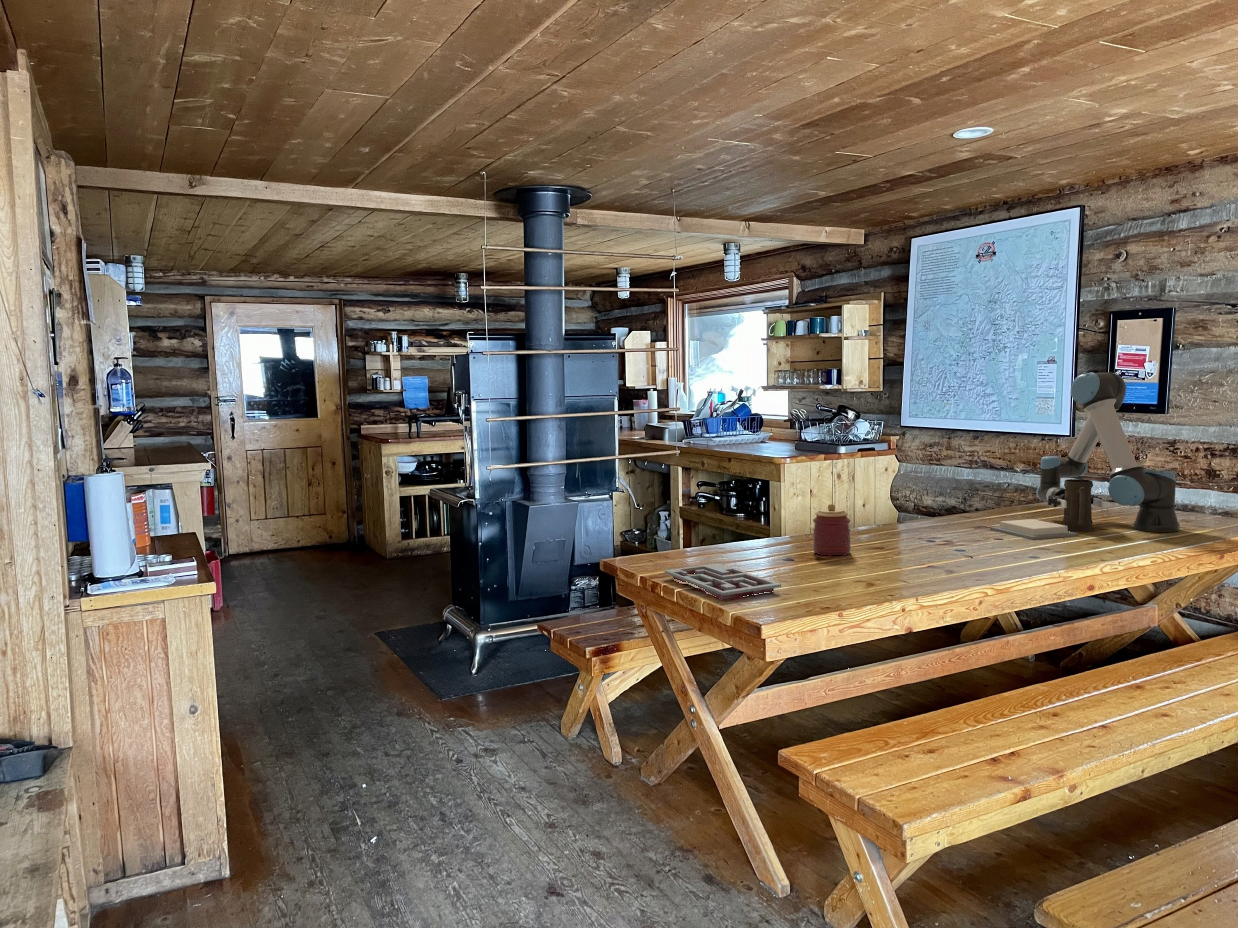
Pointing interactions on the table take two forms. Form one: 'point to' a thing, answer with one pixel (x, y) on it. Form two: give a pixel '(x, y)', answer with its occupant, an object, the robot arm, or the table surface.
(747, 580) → the maze game
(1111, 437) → the robot arm
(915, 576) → the table surface
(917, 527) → the table surface
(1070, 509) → the beer stein
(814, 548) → the canister
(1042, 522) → the stand
